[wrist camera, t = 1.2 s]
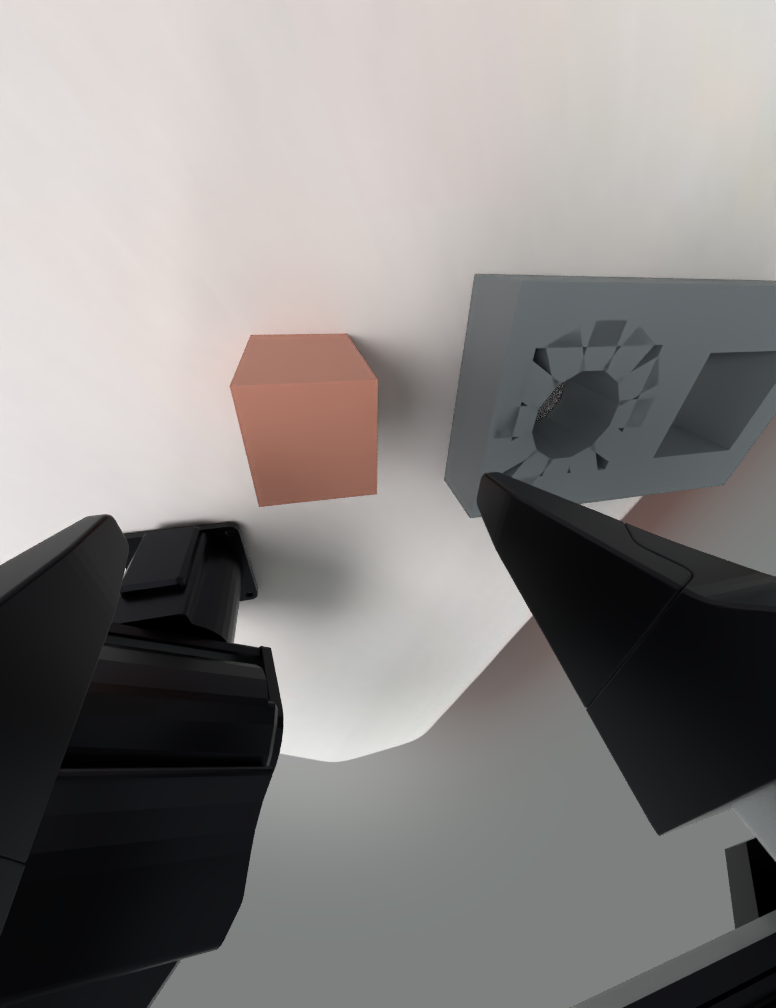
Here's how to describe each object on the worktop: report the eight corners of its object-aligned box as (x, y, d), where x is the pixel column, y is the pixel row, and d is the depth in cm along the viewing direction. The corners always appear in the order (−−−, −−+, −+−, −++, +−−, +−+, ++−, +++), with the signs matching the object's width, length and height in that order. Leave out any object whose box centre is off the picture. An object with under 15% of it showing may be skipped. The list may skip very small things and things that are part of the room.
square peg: (350, 420, 18) (376, 493, 13) (268, 425, 17) (259, 506, 12) (346, 333, 16) (378, 379, 10) (250, 335, 15) (230, 385, 10)
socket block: (671, 456, 26) (723, 485, 23) (444, 479, 22) (470, 518, 19) (773, 280, 19) (867, 287, 16) (474, 273, 16) (521, 280, 12)
